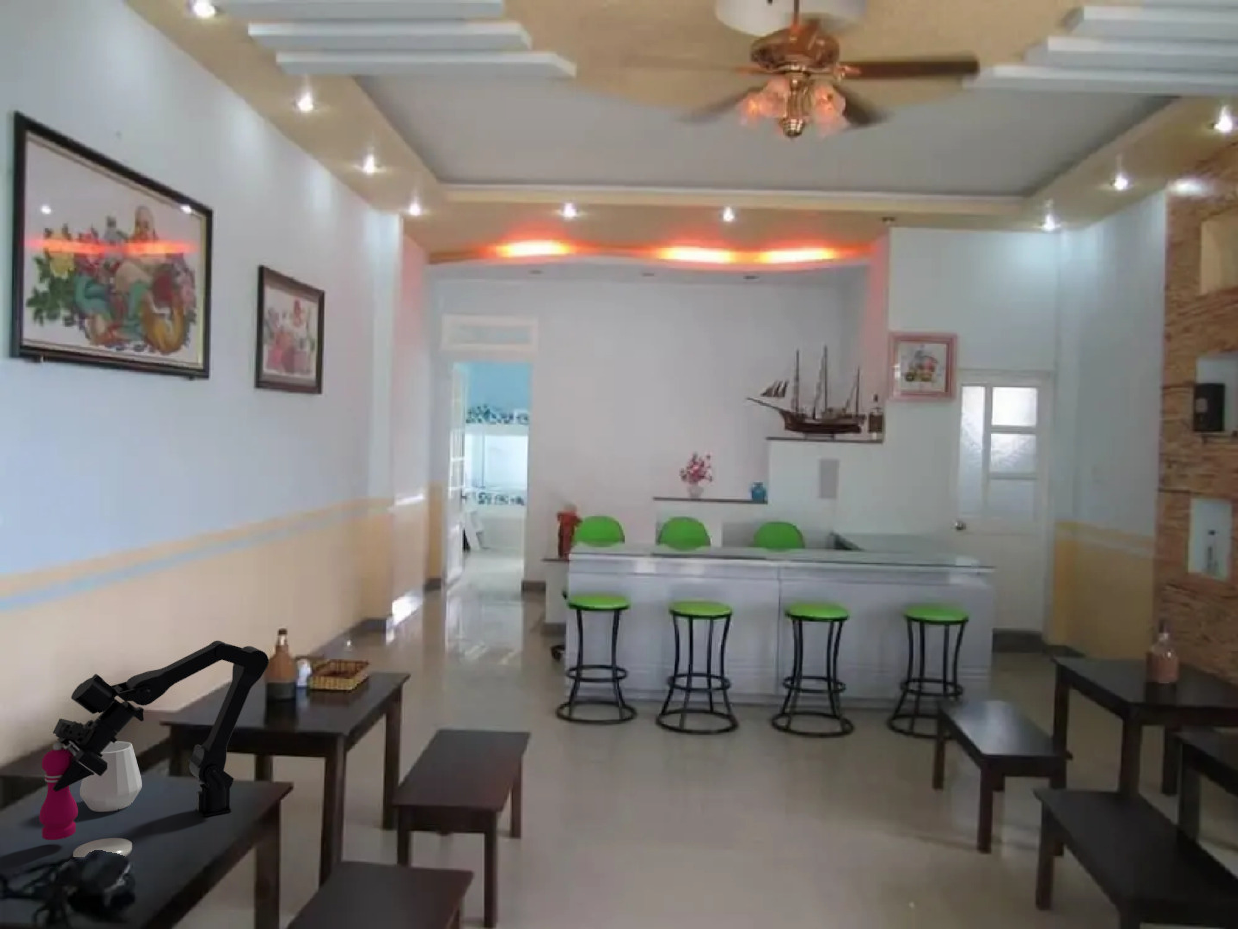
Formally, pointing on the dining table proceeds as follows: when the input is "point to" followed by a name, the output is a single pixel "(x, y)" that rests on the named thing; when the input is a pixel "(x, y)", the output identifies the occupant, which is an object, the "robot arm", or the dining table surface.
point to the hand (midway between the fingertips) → (51, 786)
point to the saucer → (105, 847)
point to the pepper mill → (57, 797)
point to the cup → (113, 780)
